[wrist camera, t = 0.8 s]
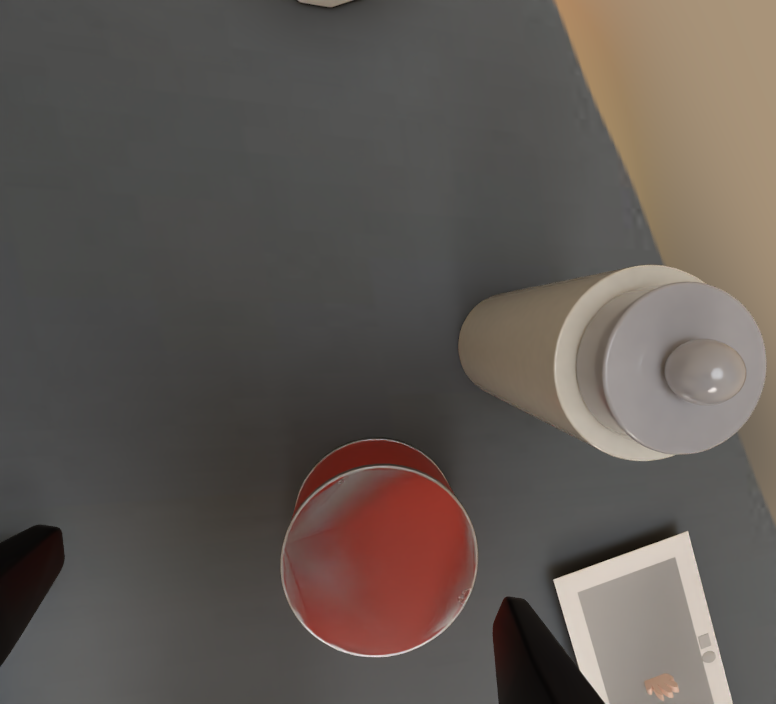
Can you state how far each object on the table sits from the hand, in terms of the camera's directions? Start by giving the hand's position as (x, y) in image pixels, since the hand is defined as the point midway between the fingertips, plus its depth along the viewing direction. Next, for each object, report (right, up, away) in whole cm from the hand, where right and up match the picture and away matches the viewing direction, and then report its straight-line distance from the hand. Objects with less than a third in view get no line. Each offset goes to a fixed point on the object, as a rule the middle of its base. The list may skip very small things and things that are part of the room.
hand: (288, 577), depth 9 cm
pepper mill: (+8, +5, +14) cm, 17 cm away
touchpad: (+17, -13, +16) cm, 27 cm away
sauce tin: (+1, -4, +14) cm, 15 cm away
